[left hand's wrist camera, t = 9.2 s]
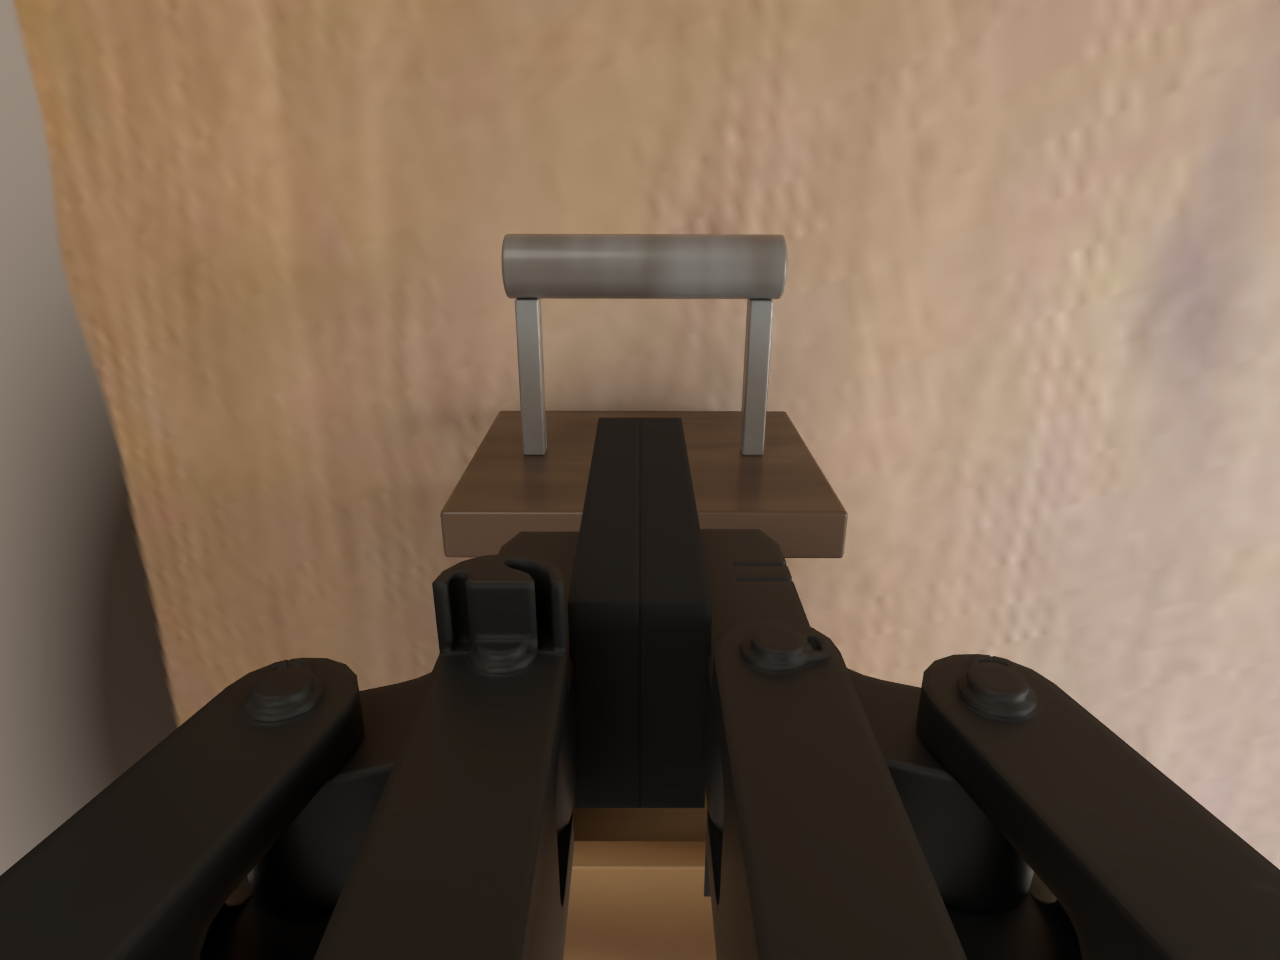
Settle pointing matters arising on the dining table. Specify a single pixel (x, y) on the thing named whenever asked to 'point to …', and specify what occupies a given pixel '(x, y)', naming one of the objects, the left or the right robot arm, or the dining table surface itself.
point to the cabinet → (639, 902)
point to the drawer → (715, 440)
